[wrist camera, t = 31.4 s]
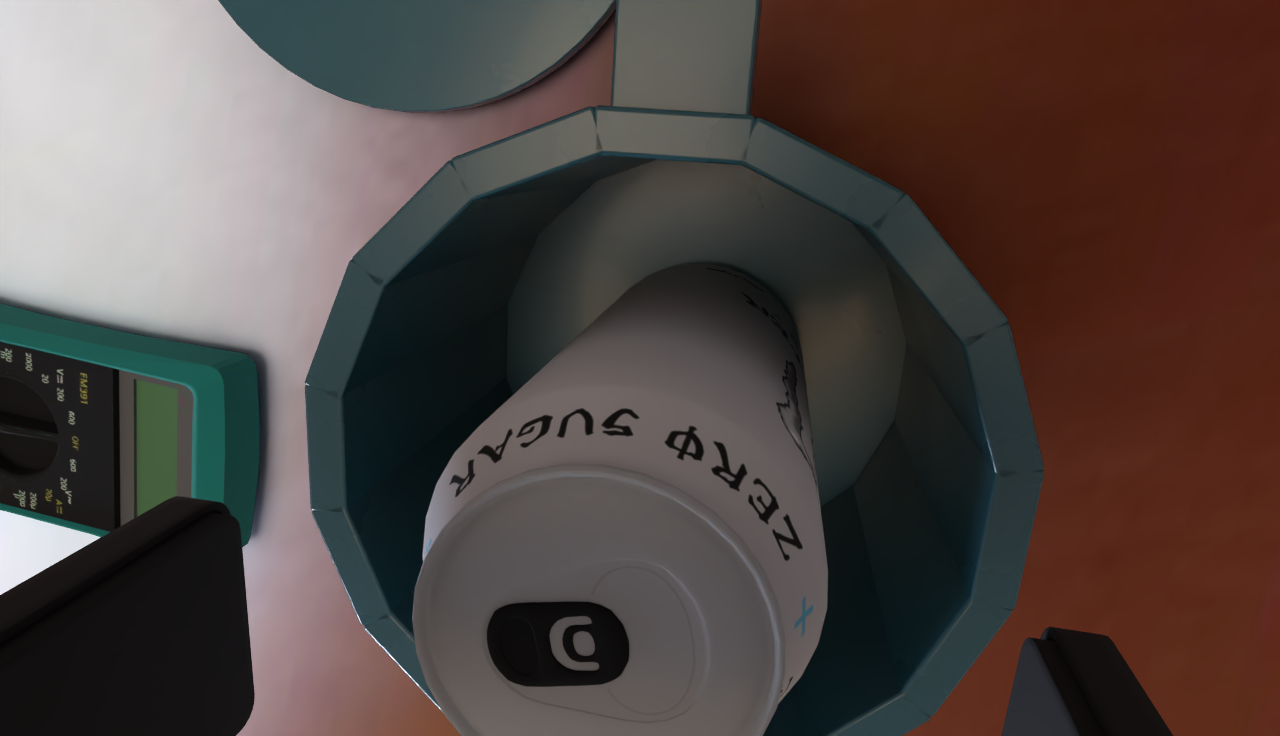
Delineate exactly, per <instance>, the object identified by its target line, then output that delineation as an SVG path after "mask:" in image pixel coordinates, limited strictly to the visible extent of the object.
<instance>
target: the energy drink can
mask: <svg viewBox="0 0 1280 736" xmlns="http://www.w3.org/2000/svg"><path fill="white" fill-rule="evenodd" d="M827 591H828V567H827V558H826V550H825V541H824V533H823V524H822V516H821V508H820V499H819V491H818V482H817V474H816V465H815V457H814V448H813V440H812V432H811V423H810V415H809V406H808V398H807V389H806V381H805V373H804V364H803V356H802V351H801V346H800V341H799V337H798V334H797V332H796V329H795V327H794V325H793V322H792V320H791V318H790V316H789V315H788V313H787V312H786V310H785V309H784V308H783V306H782V305H781V303H780V302H779V301H778V300H777V299H776V298H775V297H774V296H773V295H772V294H771V293H770V292H769V291H768V290H767V289H766V288H765V287H764V286H763V285H761V284H759V283H758V282H756V281H755V280H753V279H752V278H750V277H749V276H747V275H745V274H742V273H740V272H737V271H735V270H732V269H730V268H727V267H722V266H717V265H711V264H683V265H678V266H673V267H669V268H665V269H662V270H660V271H658V272H655V273H653V274H651V275H649V276H646V277H645V278H644V279H642V280H641V281H639V282H638V283H636V284H635V285H634V286H632V287H631V288H630V289H628V290H627V291H626V292H625V293H624V294H623V295H622V296H621V297H620V298H619V299H618V300H616V301H615V302H614V303H613V304H612V305H611V306H610V307H609V308H608V309H607V310H605V311H604V312H603V313H602V314H601V315H600V316H599V317H598V318H597V319H596V320H595V321H593V322H592V323H591V324H590V325H589V326H588V327H587V328H586V329H585V330H584V331H583V332H581V333H580V334H579V335H578V336H577V337H576V338H575V339H574V340H573V341H572V342H571V343H569V344H568V345H567V346H566V347H565V348H564V349H563V350H562V351H561V352H560V353H559V354H557V355H556V356H555V357H554V358H553V359H552V360H551V361H550V362H549V363H548V364H547V365H545V366H544V367H543V368H542V369H541V370H540V371H539V372H538V373H537V374H536V375H534V376H533V377H532V378H531V379H530V380H529V381H528V382H527V383H526V384H525V385H524V386H522V387H521V388H520V389H519V390H518V391H517V392H516V393H515V394H514V395H513V396H512V397H510V398H509V399H508V400H507V401H506V402H505V403H504V404H503V405H502V406H501V407H500V408H498V409H497V410H496V411H495V412H494V413H493V414H492V415H491V416H490V417H489V418H488V419H486V420H485V421H484V422H483V423H482V424H481V425H480V426H479V427H478V428H477V429H476V430H475V431H474V432H473V433H472V434H471V435H470V437H469V438H468V439H467V440H466V441H465V442H464V443H463V444H462V445H461V446H460V447H459V448H458V449H457V451H456V452H455V453H454V454H453V456H452V458H451V459H450V461H449V463H448V465H447V466H446V468H445V470H444V472H443V473H442V475H441V477H440V478H439V480H438V482H437V484H436V487H435V490H434V493H433V496H432V499H431V503H430V506H429V509H428V512H427V515H426V521H425V533H424V544H423V564H422V567H421V571H420V574H419V577H418V580H417V583H416V586H415V593H414V605H413V616H412V622H413V630H414V638H415V646H416V653H417V656H418V659H419V662H420V665H421V668H422V671H423V674H424V677H425V680H426V683H427V685H428V687H429V689H430V690H431V692H432V694H433V696H434V698H435V699H436V701H437V703H438V705H439V707H440V709H441V710H442V712H443V713H444V715H445V716H446V717H447V718H448V720H449V721H450V722H451V723H452V725H453V726H454V727H455V728H456V730H457V731H458V732H459V733H460V735H461V736H763V734H764V732H765V730H766V728H767V727H768V725H769V723H770V721H771V719H772V717H773V715H774V713H775V711H776V709H777V706H778V704H779V702H780V701H781V700H782V699H783V698H784V697H785V695H786V694H787V693H788V692H789V691H790V689H791V688H792V687H793V686H794V685H795V683H796V682H797V681H798V680H799V679H800V677H801V676H802V674H803V672H804V670H805V668H806V667H807V665H808V663H809V661H810V659H811V657H812V655H813V653H814V651H815V649H816V647H817V645H818V642H819V638H820V635H821V631H822V627H823V623H824V619H825V615H826V611H827Z"/></svg>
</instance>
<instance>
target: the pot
mask: <svg viewBox="0 0 1280 736" xmlns="http://www.w3.org/2000/svg"><path fill="white" fill-rule="evenodd" d="M761 7H762V0H616V17H615V36H614V55H613V74H612V92H611V106H600V105H599V106H596V107H587V108H584V109H582V110H579V111H576V112H574V113H571V114H568V115H566V116H563V117H560V118H558V119H555V120H552V121H550V122H547V123H544V124H542V125H539V126H536V127H534V128H531V129H528V130H526V131H523V132H520V133H518V134H515V135H512V136H510V137H507V138H504V139H502V140H499V141H496V142H494V143H491V144H488V145H485V146H483V147H480V148H477V149H475V150H472V151H469V152H467V153H464V154H461V155H459V156H456V157H454V158H453V159H452V160H451V161H448V162H447V163H446V164H445V165H444V166H443V167H442V168H441V169H440V170H439V171H438V172H437V173H436V174H435V175H434V176H433V177H432V178H431V179H430V180H429V181H428V182H427V183H426V184H425V185H424V186H423V187H422V188H421V189H420V190H419V191H418V192H417V193H416V194H415V195H414V196H413V197H412V198H411V199H410V200H409V201H408V202H407V203H406V204H405V205H404V206H403V207H402V208H401V209H400V210H399V211H398V212H397V213H396V214H395V215H394V216H393V217H392V218H391V219H390V220H389V221H388V222H387V223H386V224H385V225H384V226H383V227H382V228H381V229H380V230H379V231H378V232H377V233H376V234H375V235H374V236H373V237H372V238H371V239H370V240H369V241H368V242H367V243H366V244H365V245H364V246H363V247H362V248H361V249H360V250H359V251H358V252H357V253H356V254H355V255H354V256H353V258H352V260H350V261H349V264H348V267H347V269H346V272H345V275H344V277H343V280H342V283H341V286H340V288H339V291H338V294H337V296H336V299H335V302H334V304H333V307H332V310H331V313H330V315H329V318H328V321H327V323H326V326H325V329H324V331H323V334H322V337H321V340H320V342H319V345H318V348H317V350H316V353H315V356H314V358H313V361H312V364H311V367H310V369H309V372H308V375H307V377H306V380H305V384H306V386H305V399H306V420H307V441H308V462H309V482H310V503H311V510H313V511H312V515H313V517H314V520H315V522H316V524H317V526H318V529H319V531H320V533H321V535H322V538H323V540H324V542H325V544H326V547H327V549H328V551H329V553H330V556H331V558H332V560H333V563H334V565H335V567H336V569H337V572H338V574H339V576H340V578H341V581H342V583H343V585H344V587H345V590H346V592H347V594H348V596H349V599H350V601H351V603H352V606H353V608H354V610H355V612H356V615H357V617H358V619H359V621H360V624H361V625H364V628H365V630H366V631H367V632H368V633H369V634H370V635H371V636H372V637H373V639H374V640H375V641H376V642H377V643H378V644H379V645H380V646H381V647H382V648H383V649H384V650H385V651H386V652H387V653H388V655H389V656H390V657H391V658H392V659H393V660H394V661H395V662H396V663H397V664H398V665H399V666H400V667H401V668H402V669H403V671H404V672H405V673H406V674H407V675H408V676H409V677H410V678H411V679H412V680H413V681H414V682H415V683H416V684H417V685H418V686H419V688H420V689H421V690H422V691H423V692H424V693H425V694H426V695H427V696H428V697H429V698H430V699H431V700H432V701H433V702H434V704H435V705H436V706H437V707H438V708H439V709H440V707H439V705H438V703H437V701H436V699H435V698H434V696H433V694H432V692H431V690H430V689H429V687H428V685H427V683H426V680H425V677H424V674H423V671H422V668H421V665H420V662H419V659H418V656H417V653H416V646H415V638H414V630H413V622H412V616H413V605H414V593H415V586H416V583H417V580H418V577H419V574H420V571H421V567H422V564H423V544H424V533H425V521H426V515H427V512H428V509H429V506H430V503H431V499H432V496H433V493H434V490H435V487H436V484H437V482H438V480H439V478H440V477H441V475H442V473H443V472H444V470H445V468H446V466H447V465H448V463H449V461H450V459H451V458H452V456H453V454H454V453H455V452H456V451H457V449H458V448H459V447H460V446H461V445H462V444H463V443H464V442H465V441H466V440H467V439H468V438H469V437H470V435H471V434H472V433H473V432H474V431H475V430H476V429H477V428H478V427H479V426H480V425H481V424H482V423H483V422H484V421H485V420H486V419H488V418H489V417H490V416H491V415H492V414H493V413H494V412H495V411H496V410H497V409H498V408H500V407H501V406H502V405H503V404H504V403H505V402H506V401H507V400H508V399H509V398H510V397H512V396H513V395H514V394H515V393H516V392H517V391H518V390H519V389H520V388H521V387H522V386H524V385H525V384H526V383H527V382H528V381H529V380H530V379H531V378H532V377H533V376H534V375H536V374H537V373H538V372H539V371H540V370H541V369H542V368H543V367H544V366H545V365H547V364H548V363H549V362H550V361H551V360H552V359H553V358H554V357H555V356H556V355H557V354H559V353H560V352H561V351H562V350H563V349H564V348H565V347H566V346H567V345H568V344H569V343H571V342H572V341H573V340H574V339H575V338H576V337H577V336H578V335H579V334H580V333H581V332H583V331H584V330H585V329H586V328H587V327H588V326H589V325H590V324H591V323H592V322H593V321H595V320H596V319H597V318H598V317H599V316H600V315H601V314H602V313H603V312H604V311H605V310H607V309H608V308H609V307H610V306H611V305H612V304H613V303H614V302H615V301H616V300H618V299H619V298H620V297H621V296H622V295H623V294H624V293H625V292H626V291H627V290H628V289H630V288H631V287H632V286H634V285H635V284H636V283H638V282H639V281H641V280H642V279H644V278H645V277H646V276H649V275H651V274H653V273H655V272H658V271H660V270H662V269H665V268H669V267H673V266H678V265H683V264H711V265H717V266H722V267H727V268H730V269H732V270H735V271H737V272H740V273H742V274H745V275H747V276H749V277H750V278H752V279H753V280H755V281H756V282H758V283H759V284H761V285H763V286H764V287H765V288H766V289H767V290H768V291H769V292H770V293H771V294H772V295H773V296H774V297H775V298H776V299H777V300H778V301H779V302H780V303H781V305H782V306H783V308H784V309H785V310H786V312H787V313H788V315H789V316H790V318H791V320H792V322H793V325H794V327H795V329H796V332H797V334H798V337H799V341H800V346H801V351H802V356H803V364H804V373H805V381H806V389H807V398H808V406H809V415H810V423H811V432H812V440H813V448H814V457H815V465H816V474H817V482H818V491H819V499H820V508H821V516H822V524H823V533H824V541H825V550H826V558H827V567H828V591H827V611H826V615H825V619H824V623H823V627H822V631H821V635H820V638H819V642H818V645H817V647H816V649H815V651H814V653H813V655H812V657H811V659H810V661H809V663H808V665H807V667H806V668H805V670H804V672H803V674H802V676H801V677H800V679H799V680H798V681H797V682H796V683H795V685H794V686H793V687H792V688H791V689H790V691H789V692H788V693H787V694H786V695H785V697H784V698H783V699H782V700H781V701H780V702H779V704H778V706H777V709H776V711H775V713H774V715H773V717H772V719H771V721H770V723H769V725H768V727H767V728H766V730H765V732H764V734H763V736H902V735H904V734H906V733H908V732H909V731H911V730H913V729H915V728H917V727H918V726H920V725H922V724H924V723H925V722H927V721H929V720H930V718H931V717H930V716H933V715H935V713H936V712H937V711H938V709H939V708H940V707H941V705H942V704H943V703H944V701H945V700H946V699H947V697H948V696H949V695H950V694H951V692H952V691H953V690H954V688H955V687H956V686H957V684H958V683H959V682H960V680H961V679H962V678H963V676H964V675H965V674H966V673H967V671H968V670H969V669H970V667H971V666H972V665H973V663H974V662H975V661H976V659H977V658H978V657H979V655H980V654H981V653H982V652H983V650H984V649H985V648H986V646H987V645H988V644H989V642H990V641H991V640H992V638H993V637H994V636H995V634H996V633H997V632H998V631H999V629H1000V628H1001V627H1002V625H1003V624H1004V623H1005V621H1006V620H1007V619H1008V617H1009V616H1010V615H1011V612H1012V610H1013V609H1015V607H1016V602H1017V597H1018V593H1019V588H1020V584H1021V579H1022V574H1023V570H1024V565H1025V560H1026V556H1027V551H1028V546H1029V542H1030V537H1031V533H1032V528H1033V523H1034V519H1035V514H1036V509H1037V505H1038V500H1039V496H1040V491H1041V486H1042V482H1043V477H1044V470H1043V468H1044V464H1043V459H1042V455H1041V451H1040V447H1039V443H1038V439H1037V435H1036V430H1035V426H1034V422H1033V418H1032V414H1031V410H1030V406H1029V402H1028V397H1027V393H1026V389H1025V385H1024V381H1023V377H1022V373H1021V368H1020V364H1019V360H1018V356H1017V352H1016V348H1015V344H1014V340H1013V335H1012V331H1011V327H1010V324H1009V323H1008V322H1007V321H1008V319H1007V317H1006V316H1005V315H1004V313H1003V312H1002V311H1001V310H1000V308H999V307H998V306H997V305H996V303H995V302H994V301H993V300H992V298H991V297H990V296H989V295H988V293H987V292H986V291H985V290H984V288H983V287H982V286H981V285H980V283H979V282H978V281H977V280H976V278H975V277H974V276H973V275H972V273H971V272H970V271H969V270H968V268H967V267H966V266H965V265H964V263H963V262H962V261H961V260H960V258H959V257H958V256H957V255H956V253H955V252H954V251H953V250H952V248H951V247H950V246H949V245H948V243H947V242H946V241H945V240H944V238H943V237H942V236H941V235H940V233H939V232H938V231H937V230H936V228H935V227H934V226H933V225H932V223H931V222H930V221H929V220H928V218H927V217H926V216H925V215H924V213H923V212H922V211H921V210H920V208H919V207H918V206H917V205H916V203H915V202H914V201H913V200H912V198H911V197H910V196H909V195H908V194H906V193H904V192H903V191H902V190H901V189H899V188H897V187H895V186H893V185H891V184H889V183H888V182H886V181H884V180H882V179H880V178H878V177H876V176H874V175H872V174H870V173H868V172H866V171H864V170H862V169H860V168H858V167H856V166H855V165H853V164H851V163H849V162H847V161H845V160H843V159H841V158H839V157H837V156H835V155H833V154H831V153H829V152H827V151H825V150H823V149H822V148H820V147H818V146H816V145H814V144H812V143H810V142H808V141H806V140H804V139H802V138H800V137H798V136H796V135H794V134H792V133H790V132H788V131H787V130H785V129H783V128H781V127H779V126H777V125H775V124H773V123H771V122H769V121H767V120H765V119H763V118H759V117H757V118H755V117H754V116H752V115H751V109H752V99H753V89H754V78H755V68H756V58H757V48H758V37H759V27H760V17H761ZM440 710H441V709H440ZM441 711H442V710H441Z"/></svg>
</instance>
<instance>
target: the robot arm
mask: <svg viewBox="0 0 1280 736" xmlns="http://www.w3.org/2000/svg"><path fill="white" fill-rule="evenodd" d="M253 705H254V684H253V672H252V660H251V648H250V636H249V624H248V612H247V600H246V588H245V577H244V565H243V553H242V541H241V529H240V525H239V522H238V520H237V519H236V518H235V517H233V516H231V513H230V511H229V509H228V507H227V506H226V505H224V504H223V503H221V502H216V501H210V500H203V499H196V498H190V497H183V496H175V497H172V498H170V499H167V500H166V501H164V502H162V503H160V504H159V505H157V506H155V507H153V508H152V509H150V510H148V511H146V512H145V513H143V514H141V515H139V516H138V517H136V518H134V519H132V520H131V521H129V522H127V523H125V524H124V525H122V526H120V527H118V528H117V529H115V530H113V531H111V532H110V533H108V534H106V535H105V536H103V537H101V538H99V539H98V540H96V541H94V542H92V543H91V544H89V545H87V546H85V547H84V548H82V549H80V550H78V551H77V552H75V553H73V554H71V555H70V556H68V557H66V558H64V559H63V560H61V561H59V562H57V563H56V564H54V565H52V566H50V567H49V568H47V569H45V570H43V571H42V572H40V573H38V574H36V575H35V576H33V577H31V578H29V579H28V580H26V581H24V582H22V583H21V584H19V585H17V586H16V587H14V588H12V589H10V590H9V591H7V592H5V593H3V594H2V595H0V736H236V735H237V734H238V733H239V732H240V731H241V730H242V728H243V727H244V726H245V724H246V723H247V721H248V719H249V717H250V715H251V712H252V709H253ZM1002 736H1173V735H1172V733H1171V732H1170V730H1169V729H1168V727H1167V725H1166V724H1165V722H1164V721H1163V719H1162V718H1161V716H1160V715H1159V713H1158V711H1157V710H1156V708H1155V707H1154V705H1153V704H1152V702H1151V700H1150V699H1149V697H1148V696H1147V694H1146V693H1145V691H1144V690H1143V688H1142V686H1141V685H1140V683H1139V682H1138V680H1137V679H1136V677H1135V676H1134V674H1133V672H1132V671H1131V669H1130V668H1129V666H1128V665H1127V663H1126V661H1125V660H1124V658H1123V657H1122V655H1121V654H1120V652H1119V651H1118V649H1117V647H1116V646H1115V644H1114V643H1113V641H1112V640H1111V639H1110V638H1109V637H1108V636H1105V635H1100V634H1094V633H1087V632H1080V631H1074V630H1067V629H1060V628H1054V627H1048V628H1047V629H1045V630H1044V632H1043V634H1042V635H1041V638H1040V639H1035V638H1027V639H1026V640H1025V642H1024V643H1023V646H1022V649H1021V653H1020V657H1019V661H1018V666H1017V670H1016V675H1015V679H1014V683H1013V688H1012V692H1011V696H1010V701H1009V705H1008V710H1007V714H1006V718H1005V723H1004V727H1003V732H1002Z"/></svg>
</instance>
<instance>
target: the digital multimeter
mask: <svg viewBox="0 0 1280 736" xmlns="http://www.w3.org/2000/svg"><path fill="white" fill-rule="evenodd" d="M259 446H260V432H259V400H258V383H257V370H256V365H255V363H254V361H253V360H252V359H251V357H249V356H247V355H245V354H243V353H238V352H232V351H227V350H221V349H215V348H209V347H204V346H198V345H192V344H187V343H181V342H175V341H169V340H164V339H158V338H152V337H147V336H141V335H135V334H131V333H126V332H121V331H116V330H112V329H107V328H102V327H98V326H93V325H88V324H84V323H79V322H74V321H69V320H65V319H60V318H55V317H51V316H46V315H43V314H39V313H35V312H31V311H27V310H23V309H20V308H16V307H12V306H8V305H4V304H0V510H3V511H7V512H11V513H14V514H18V515H22V516H26V517H29V518H33V519H37V520H40V521H44V522H48V523H52V524H55V525H59V526H63V527H67V528H70V529H74V530H78V531H82V532H85V533H89V534H93V535H96V536H99V537H103V536H105V535H106V534H108V533H110V532H111V531H113V530H115V529H117V528H118V527H120V526H122V525H124V524H125V523H127V522H129V521H131V520H132V519H134V518H136V517H138V516H139V515H141V514H143V513H145V512H146V511H148V510H150V509H152V508H153V507H155V506H157V505H159V504H160V503H162V502H164V501H166V500H167V499H170V498H172V497H175V496H183V497H190V498H196V499H203V500H210V501H216V502H221V503H223V504H224V505H226V506H227V507H228V509H229V511H230V513H231V516H233V517H235V518H236V519H237V520H238V522H239V525H240V529H241V541H242V547H243V546H245V545H246V544H248V542H249V539H250V534H251V527H252V521H253V514H254V507H255V499H256V490H257V481H258V469H259Z"/></svg>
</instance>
